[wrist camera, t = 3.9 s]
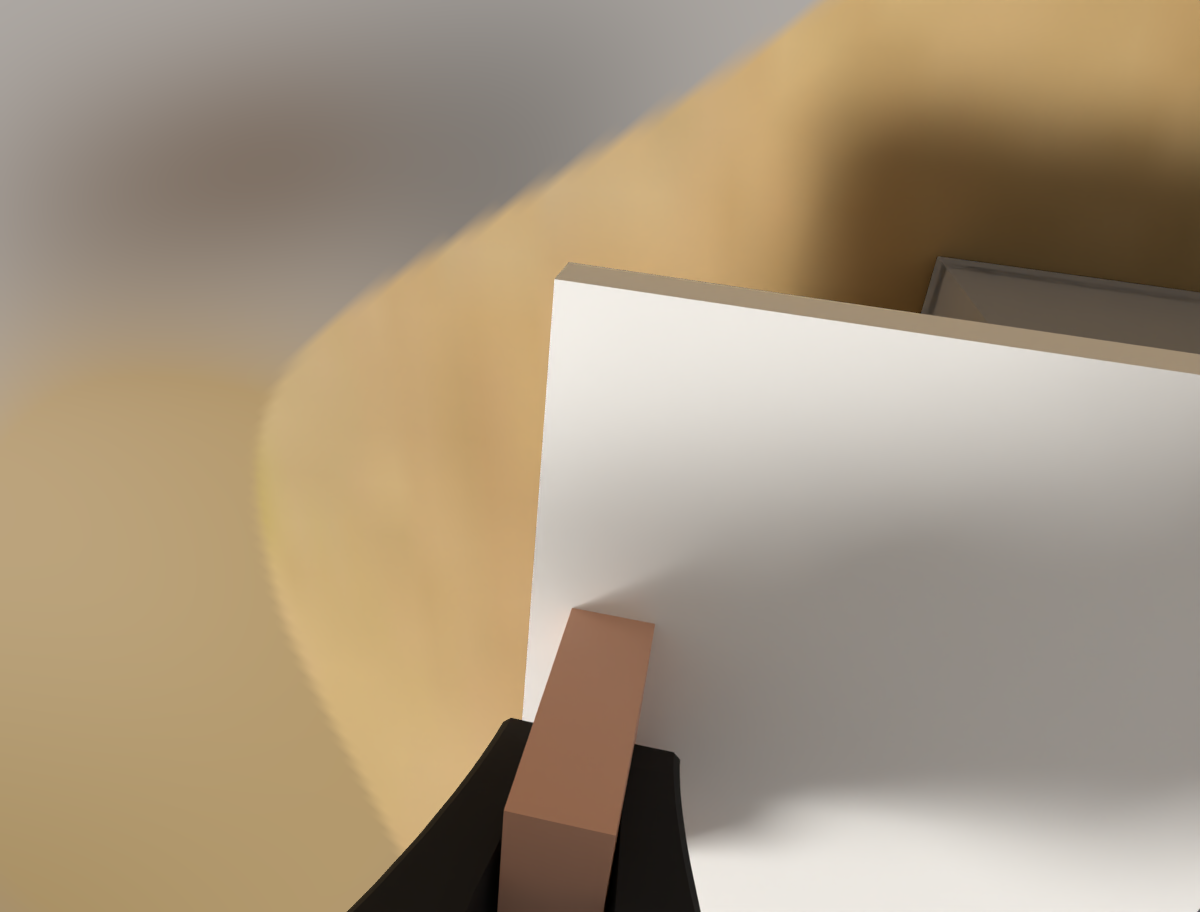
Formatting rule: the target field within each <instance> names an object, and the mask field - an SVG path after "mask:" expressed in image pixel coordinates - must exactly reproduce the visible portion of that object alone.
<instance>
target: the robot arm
mask: <svg viewBox="0 0 1200 912" xmlns="http://www.w3.org/2000/svg"><path fill="white" fill-rule="evenodd" d="M532 725H533V722H528V721H523V720H519V719H514V718H510V719H508V720H506V721H504V722H503V723H502V725H501V727H500V728H499V730H498V732H497V733H496V735H495V736H494V738H493V739H492V741H491V742H490V744H489V745H488V747H487V748H486V750H485V751H484V753H483V754H482V756H481V757H480V759H479V760H478V761H477V763H476V764H475V765H474V767H473V768H472V770H471V771H470V772H469V774H468V775H467V776H466V778H465V779H464V780H463V782H462V783H461V784H460V785H459V787H458V788H457V789H456V791H455V792H454V793H453V794H452V796H451V797H450V798H449V799H448V801H447V802H446V803H445V804H444V805H443V807H442V808H441V809H440V810H439V812H438V813H437V814H436V815H435V816H434V818H433V819H432V820H431V821H430V823H429V824H428V825H427V826H426V827H425V829H424V830H423V831H422V832H421V833H420V834H419V836H418V837H417V838H416V839H415V840H414V841H413V842H412V844H411V845H410V846H409V847H408V848H407V849H406V850H405V851H404V852H403V853H402V855H401V856H400V857H399V858H398V859H397V860H396V861H395V862H394V863H393V864H392V865H391V867H390V868H389V869H388V870H387V871H386V872H385V873H384V874H383V875H382V876H381V878H380V879H379V880H378V881H377V882H376V883H375V884H374V885H373V886H372V887H371V888H370V889H369V890H368V891H367V892H366V893H365V894H364V895H363V896H362V897H361V898H360V899H359V900H358V901H357V902H356V903H355V904H354V905H353V906H352V907H351V908H350V909H349V910H348V911H347V912H497V909H498V893H499V877H500V862H501V846H502V830H503V814H504V808H505V805H506V802H507V799H508V796H509V793H510V791H511V788H512V785H513V782H514V779H515V776H516V773H517V770H518V767H519V764H520V761H521V758H522V755H523V752H524V749H525V746H526V743H527V740H528V737H529V734H530V731H531V728H532ZM605 912H701V910H700V906H699V901H698V896H697V891H696V887H695V882H694V877H693V873H692V868H691V863H690V857H689V852H688V846H687V840H686V833H685V826H684V819H683V811H682V802H681V790H680V759H679V758H678V757H677V755H676V754H675V753H674V752H671V751H666V750H661V749H656V748H652V747H647V746H642V745H637V744H634V749H633V754H632V760H631V765H630V770H629V775H628V780H627V786H626V791H625V796H624V802H623V807H622V813H621V819H620V825H619V831H618V837H617V843H616V849H615V856H614V862H613V868H612V874H611V880H610V886H609V892H608V898H607V905H606V911H605Z"/></svg>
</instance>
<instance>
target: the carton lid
mask: <svg viewBox="0 0 1200 912" xmlns="http://www.w3.org/2000/svg"><path fill="white" fill-rule="evenodd" d="M522 720H523V721H528V722H533V725H532V728H531V731H530V734H529V737H528V740H527V743H526V746H525V749H524V752H523V755H522V758H521V761H520V764H519V767H518V770H517V773H516V776H515V779H514V782H513V785H512V788H511V791H510V793H509V796H508V799H507V802H506V805H505V808H504V814H503V830H502V846H501V862H500V877H499V893H498V909H497V912H605V911H606V905H607V898H608V892H609V886H610V880H611V874H612V868H613V862H614V856H615V849H616V843H617V837H618V831H619V825H620V819H621V813H622V807H623V802H624V796H625V791H626V786H627V780H628V775H629V770H630V765H631V760H632V754H633V749H634V744H637V745H642V746H647V747H652V748H656V749H661V750H666V751H671V752H674V753H675V754H676V755H677V757H678V758H679V759H680V790H681V802H682V811H683V819H684V826H685V833H686V840H687V846H688V852H689V857H690V863H691V868H692V873H693V877H694V882H695V887H696V891H697V896H698V901H699V906H700V910H701V912H1197V911H1198V910H1199V909H1200V354H1194V353H1187V352H1180V351H1173V350H1166V349H1160V348H1153V347H1146V346H1139V345H1132V344H1125V343H1119V342H1112V341H1105V340H1098V339H1091V338H1084V337H1077V336H1071V335H1064V334H1057V333H1050V332H1043V331H1036V330H1029V329H1023V328H1016V327H1009V326H1002V325H995V324H988V323H981V322H975V321H968V320H961V319H954V318H947V317H940V316H934V315H927V314H920V313H913V312H906V311H899V310H892V309H886V308H879V307H872V306H865V305H858V304H851V303H844V302H838V301H831V300H824V299H817V298H810V297H803V296H796V295H790V294H783V293H776V292H769V291H762V290H755V289H749V288H742V287H735V286H728V285H721V284H714V283H707V282H701V281H694V280H687V279H680V278H673V277H666V276H659V275H653V274H646V273H639V272H632V271H625V270H618V269H611V268H605V267H598V266H591V265H584V264H577V263H570V262H569V263H568V264H567V265H566V266H565V268H564V269H563V270H562V271H561V272H560V273H559V275H558V276H557V277H556V278H555V282H554V295H553V309H552V322H551V336H550V350H549V363H548V377H547V391H546V404H545V418H544V431H543V445H542V459H541V472H540V486H539V499H538V513H537V527H536V540H535V554H534V568H533V581H532V595H531V608H530V622H529V636H528V649H527V663H526V676H525V690H524V704H523V717H522Z"/></svg>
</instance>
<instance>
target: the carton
mask: <svg viewBox="0 0 1200 912" xmlns="http://www.w3.org/2000/svg"><path fill="white" fill-rule="evenodd" d="M921 314H927V315H934V316H940V317H947V318H954V319H961V320H968V321H975V322H981V323H988V324H995V325H1002V326H1009V327H1016V328H1023V329H1029V330H1036V331H1043V332H1050V333H1057V334H1064V335H1071V336H1077V337H1084V338H1091V339H1098V340H1105V341H1112V342H1119V343H1125V344H1132V345H1139V346H1146V347H1153V348H1160V349H1166V350H1173V351H1180V352H1187V353H1194V354H1200V292H1193V291H1186V290H1179V289H1171V288H1164V287H1157V286H1150V285H1142V284H1135V283H1128V282H1121V281H1114V280H1106V279H1099V278H1092V277H1085V276H1077V275H1070V274H1063V273H1056V272H1048V271H1041V270H1034V269H1027V268H1019V267H1012V266H1005V265H998V264H990V263H983V262H976V261H969V260H962V259H954V258H947V257H940V256H938V257H937V260H936V263H935V267H934V270H933V274H932V277H931V281H930V284H929V287H928V291H927V294H926V298H925V301H924V304H923V308H922V311H921ZM1197 912H1200V909H1199V910H1198V911H1197Z"/></svg>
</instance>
